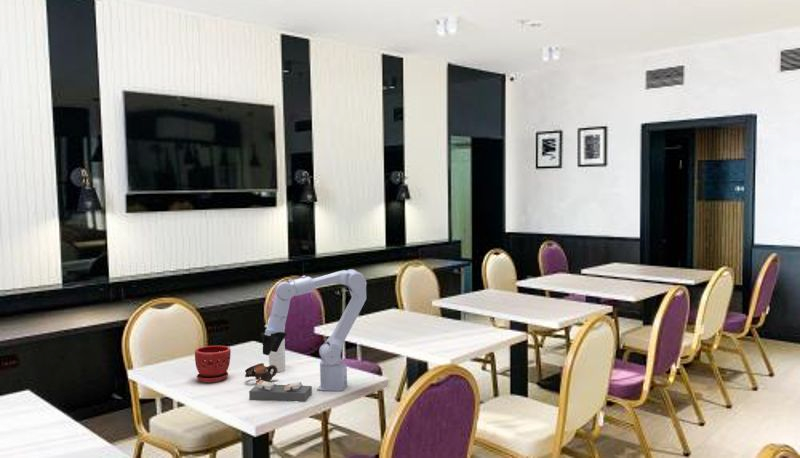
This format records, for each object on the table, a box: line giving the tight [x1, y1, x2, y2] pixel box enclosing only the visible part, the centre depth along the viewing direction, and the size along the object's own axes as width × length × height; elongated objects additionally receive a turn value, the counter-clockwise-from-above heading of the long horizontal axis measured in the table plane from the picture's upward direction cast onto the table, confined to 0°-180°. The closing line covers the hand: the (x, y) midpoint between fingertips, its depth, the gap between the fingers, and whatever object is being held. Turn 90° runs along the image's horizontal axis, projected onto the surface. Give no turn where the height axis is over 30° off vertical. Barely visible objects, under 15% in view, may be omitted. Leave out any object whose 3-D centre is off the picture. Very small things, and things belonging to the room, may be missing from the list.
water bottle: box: [267, 317, 286, 373], centre depth 252 cm, size 9×6×25 cm
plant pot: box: [194, 345, 232, 383], centre depth 241 cm, size 13×13×12 cm
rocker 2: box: [284, 381, 302, 391], centre depth 216 cm, size 5×4×2 cm
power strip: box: [248, 383, 313, 403], centre depth 219 cm, size 20×8×3 cm, turn 80°
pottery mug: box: [244, 363, 278, 384], centre depth 237 cm, size 12×10×8 cm
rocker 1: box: [256, 380, 275, 390], centre depth 218 cm, size 5×4×2 cm
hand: (269, 353), depth 221 cm, fingers open, 7 cm apart
